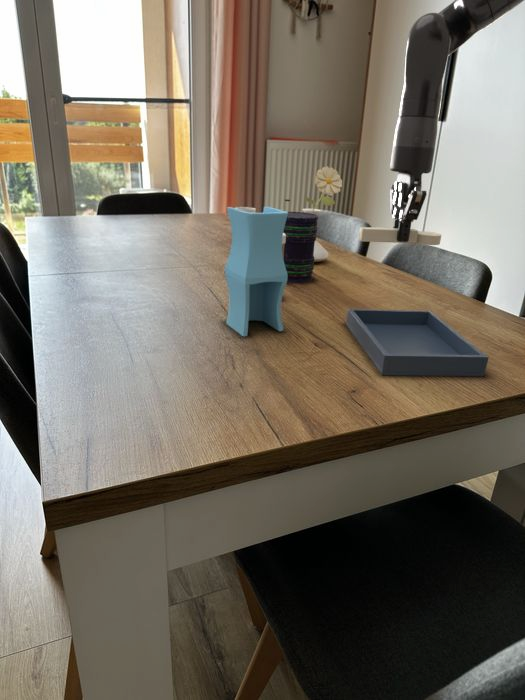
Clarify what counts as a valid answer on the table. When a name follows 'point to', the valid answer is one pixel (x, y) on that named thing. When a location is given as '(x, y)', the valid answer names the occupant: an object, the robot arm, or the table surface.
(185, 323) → the table surface
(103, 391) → the table surface
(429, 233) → the cream round-headed paddle
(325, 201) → the flower in vase
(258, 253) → the vase
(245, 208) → the drinking glass
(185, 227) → the table surface
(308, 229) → the storage jar
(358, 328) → the tray
